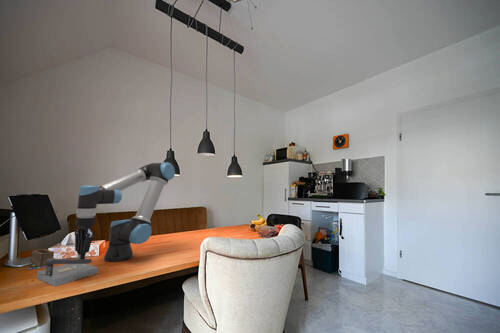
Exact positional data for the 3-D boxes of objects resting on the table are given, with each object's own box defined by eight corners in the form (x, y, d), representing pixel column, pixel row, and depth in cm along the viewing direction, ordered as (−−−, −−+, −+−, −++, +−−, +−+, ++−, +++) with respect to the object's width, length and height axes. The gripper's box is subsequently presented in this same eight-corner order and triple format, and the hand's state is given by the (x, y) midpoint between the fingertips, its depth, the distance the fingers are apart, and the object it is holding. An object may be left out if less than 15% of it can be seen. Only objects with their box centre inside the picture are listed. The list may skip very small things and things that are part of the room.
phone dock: (42, 261, 123) (44, 248, 124) (52, 265, 118) (54, 251, 119) (30, 264, 119) (31, 250, 120) (39, 268, 113) (41, 254, 114)
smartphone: (25, 271, 110) (25, 268, 110) (36, 262, 123) (36, 260, 123) (46, 268, 114) (46, 266, 114) (54, 260, 127) (55, 258, 127)
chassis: (78, 267, 116) (79, 253, 117) (97, 273, 108) (98, 258, 109) (35, 278, 101) (37, 262, 101) (54, 286, 93) (56, 269, 93)
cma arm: (43, 265, 97) (44, 260, 97) (49, 262, 100) (49, 258, 100) (87, 264, 99) (87, 260, 99) (91, 262, 102) (92, 258, 102)
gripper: (70, 216, 104) (63, 267, 102) (84, 219, 98) (77, 273, 96) (87, 215, 111) (81, 262, 108) (101, 217, 105) (96, 267, 102)
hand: (80, 267), depth 102 cm, fingers closed
